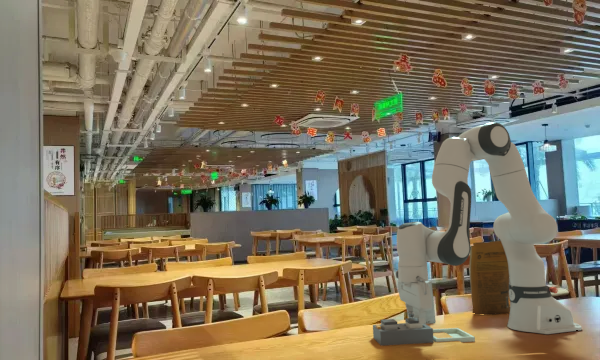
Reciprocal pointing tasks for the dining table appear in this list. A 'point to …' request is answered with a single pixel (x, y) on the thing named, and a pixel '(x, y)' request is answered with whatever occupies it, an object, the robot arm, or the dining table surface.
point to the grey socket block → (403, 335)
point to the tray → (454, 335)
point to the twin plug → (389, 324)
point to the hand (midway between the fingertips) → (416, 320)
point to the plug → (413, 323)
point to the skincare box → (431, 313)
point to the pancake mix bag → (489, 278)
